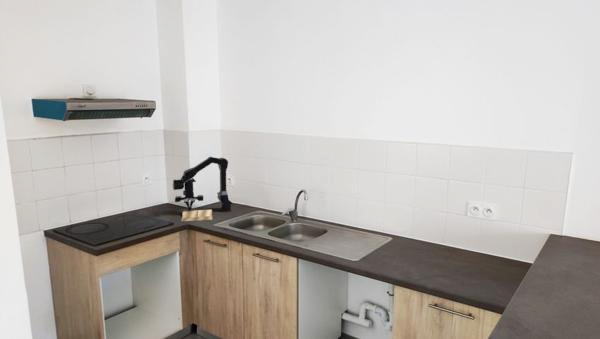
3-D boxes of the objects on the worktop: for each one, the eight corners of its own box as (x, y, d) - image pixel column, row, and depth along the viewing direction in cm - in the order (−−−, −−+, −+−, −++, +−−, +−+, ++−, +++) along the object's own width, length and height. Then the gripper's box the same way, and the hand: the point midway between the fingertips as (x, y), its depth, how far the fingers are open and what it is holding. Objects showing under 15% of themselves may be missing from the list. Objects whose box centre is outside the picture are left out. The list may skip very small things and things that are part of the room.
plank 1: (197, 211, 288) (197, 210, 288) (197, 218, 283) (196, 216, 282) (182, 212, 286) (182, 211, 286) (182, 219, 281) (182, 217, 280)
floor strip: (212, 217, 284) (212, 216, 284) (212, 221, 276) (212, 219, 276) (182, 219, 280) (182, 217, 280) (181, 223, 272) (181, 221, 272)
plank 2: (211, 210, 290) (211, 209, 290) (212, 217, 285) (211, 216, 284) (197, 211, 288) (197, 210, 288) (197, 218, 283) (197, 216, 282)
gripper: (203, 185, 293) (204, 207, 295) (175, 186, 289) (176, 208, 292) (202, 188, 282) (203, 211, 285) (174, 190, 278) (175, 212, 281)
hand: (189, 210), depth 286 cm, fingers closed
